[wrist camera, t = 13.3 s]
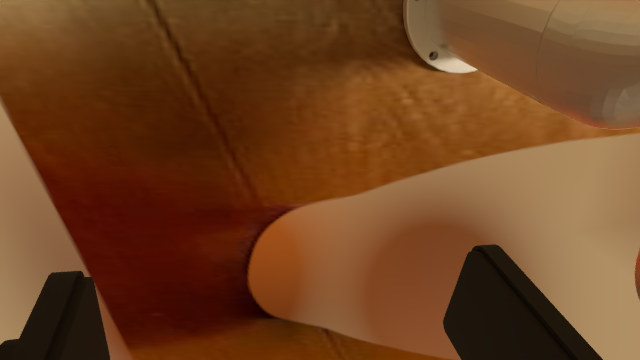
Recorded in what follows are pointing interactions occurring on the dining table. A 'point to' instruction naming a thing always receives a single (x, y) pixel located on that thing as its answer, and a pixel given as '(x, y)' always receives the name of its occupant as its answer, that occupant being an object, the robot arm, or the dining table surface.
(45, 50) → the dining table surface
